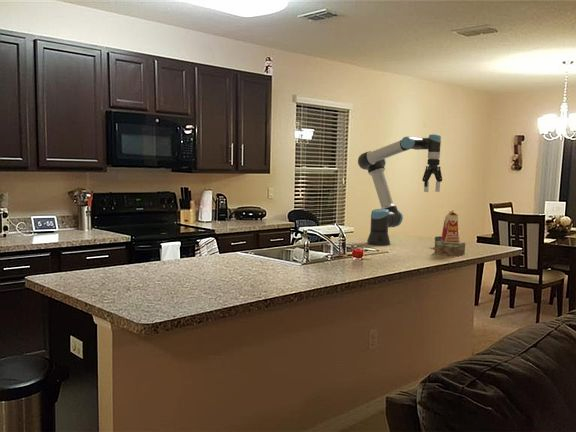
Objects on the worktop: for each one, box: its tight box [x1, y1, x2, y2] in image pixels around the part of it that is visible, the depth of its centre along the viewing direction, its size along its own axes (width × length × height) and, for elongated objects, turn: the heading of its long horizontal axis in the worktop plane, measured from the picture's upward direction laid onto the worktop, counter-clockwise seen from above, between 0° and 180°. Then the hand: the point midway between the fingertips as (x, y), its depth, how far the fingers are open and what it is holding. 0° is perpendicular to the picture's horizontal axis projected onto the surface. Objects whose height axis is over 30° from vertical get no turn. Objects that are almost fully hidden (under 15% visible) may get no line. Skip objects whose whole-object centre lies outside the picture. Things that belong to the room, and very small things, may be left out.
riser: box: [433, 241, 467, 257], centre depth 324 cm, size 13×13×7 cm
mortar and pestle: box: [434, 235, 442, 243], centre depth 347 cm, size 11×9×12 cm
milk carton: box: [441, 210, 461, 244], centre depth 323 cm, size 9×9×20 cm
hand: (431, 191), depth 341 cm, fingers open, 13 cm apart
